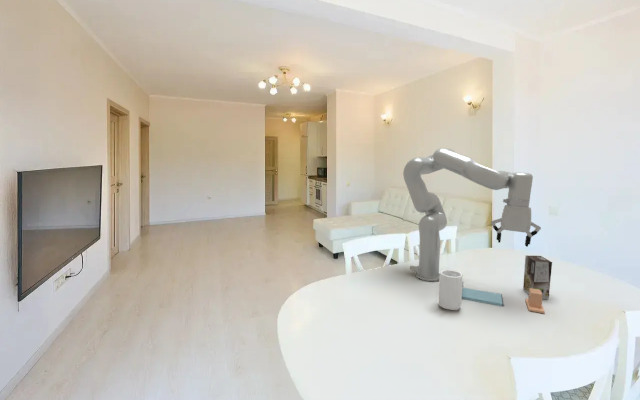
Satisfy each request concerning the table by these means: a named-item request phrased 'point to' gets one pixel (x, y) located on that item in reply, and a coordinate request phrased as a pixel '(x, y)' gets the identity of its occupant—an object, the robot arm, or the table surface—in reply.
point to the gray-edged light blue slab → (482, 296)
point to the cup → (450, 289)
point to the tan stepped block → (535, 301)
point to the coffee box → (537, 274)
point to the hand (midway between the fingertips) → (512, 243)
